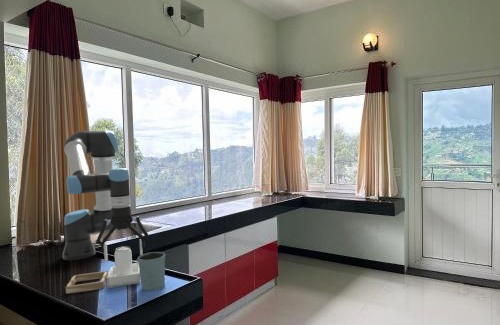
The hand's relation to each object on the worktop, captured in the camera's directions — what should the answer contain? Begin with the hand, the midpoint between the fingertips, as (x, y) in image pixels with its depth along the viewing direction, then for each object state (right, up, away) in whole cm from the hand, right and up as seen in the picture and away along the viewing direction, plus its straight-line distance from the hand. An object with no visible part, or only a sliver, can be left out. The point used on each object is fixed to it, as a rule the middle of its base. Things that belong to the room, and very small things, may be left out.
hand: (124, 257), depth 137 cm
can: (0, -8, 0) cm, 8 cm away
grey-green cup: (+14, -9, -8) cm, 19 cm away
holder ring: (-13, -10, -4) cm, 17 cm away
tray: (0, -9, 0) cm, 9 cm away
